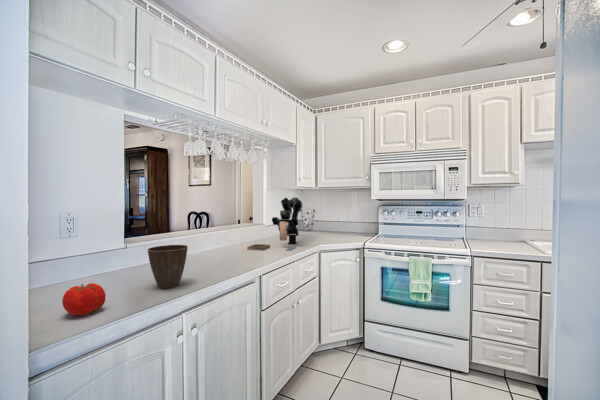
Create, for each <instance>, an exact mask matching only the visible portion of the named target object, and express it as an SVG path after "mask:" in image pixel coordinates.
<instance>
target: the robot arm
mask: <svg viewBox="0 0 600 400" xmlns="http://www.w3.org/2000/svg"><path fill="white" fill-rule="evenodd" d="M280 203H281V206H282V210H280V212H279V215H280V218H279V217H278V216H276V217H274V216H273V217H272V218H271V222H272V225H274V226H277V227H278V232H280V221H287V229H286V231H287V237H288V242H287V244H288V245H290V244H291V245H295V244H298V242H297V237H298V236H299V230H298V228H297V227H298V225H299V219H298V218H299V214H300V212H301V211H302V209H303V202H302V200H300V199H299V197H292V198H290V199H289V198H288V197H284V198H283V199H282V200H281V201H280Z"/></svg>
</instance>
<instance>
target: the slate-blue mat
mask: <svg viewBox="0 0 600 400" xmlns="http://www.w3.org/2000/svg"><path fill="white" fill-rule="evenodd" d="M295 249H296V247H295V246H291V247H288V248H287V249H285V250H284V251H285V252H286V251H289V252H291V251H293V250H295Z"/></svg>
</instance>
